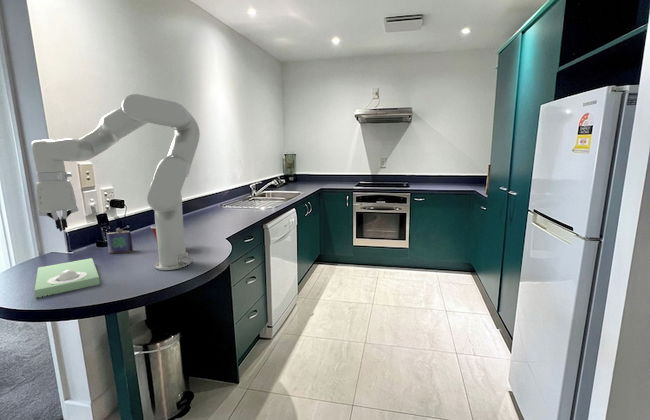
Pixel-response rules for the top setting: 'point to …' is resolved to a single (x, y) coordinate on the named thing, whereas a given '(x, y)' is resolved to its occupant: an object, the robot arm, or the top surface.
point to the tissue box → (51, 285)
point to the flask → (119, 241)
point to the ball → (67, 275)
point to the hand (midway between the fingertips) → (62, 230)
